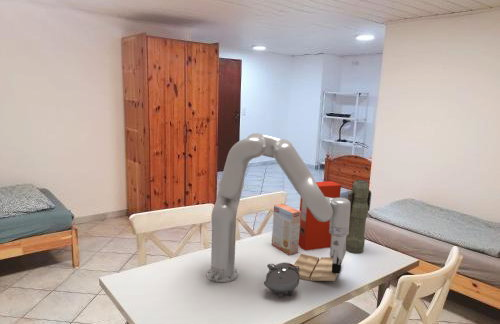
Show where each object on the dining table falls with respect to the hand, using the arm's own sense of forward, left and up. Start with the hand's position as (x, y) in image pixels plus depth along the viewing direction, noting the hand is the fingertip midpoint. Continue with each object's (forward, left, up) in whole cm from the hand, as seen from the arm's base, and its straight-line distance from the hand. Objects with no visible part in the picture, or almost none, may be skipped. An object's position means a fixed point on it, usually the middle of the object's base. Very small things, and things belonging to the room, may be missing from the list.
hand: (336, 272), depth 147 cm
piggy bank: (-18, +17, -4) cm, 25 cm away
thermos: (+36, -3, -4) cm, 36 cm away
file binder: (+32, +15, -4) cm, 35 cm away
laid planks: (+6, +14, -4) cm, 16 cm away
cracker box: (+21, +28, -4) cm, 35 cm away
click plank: (+6, +4, -3) cm, 8 cm away
